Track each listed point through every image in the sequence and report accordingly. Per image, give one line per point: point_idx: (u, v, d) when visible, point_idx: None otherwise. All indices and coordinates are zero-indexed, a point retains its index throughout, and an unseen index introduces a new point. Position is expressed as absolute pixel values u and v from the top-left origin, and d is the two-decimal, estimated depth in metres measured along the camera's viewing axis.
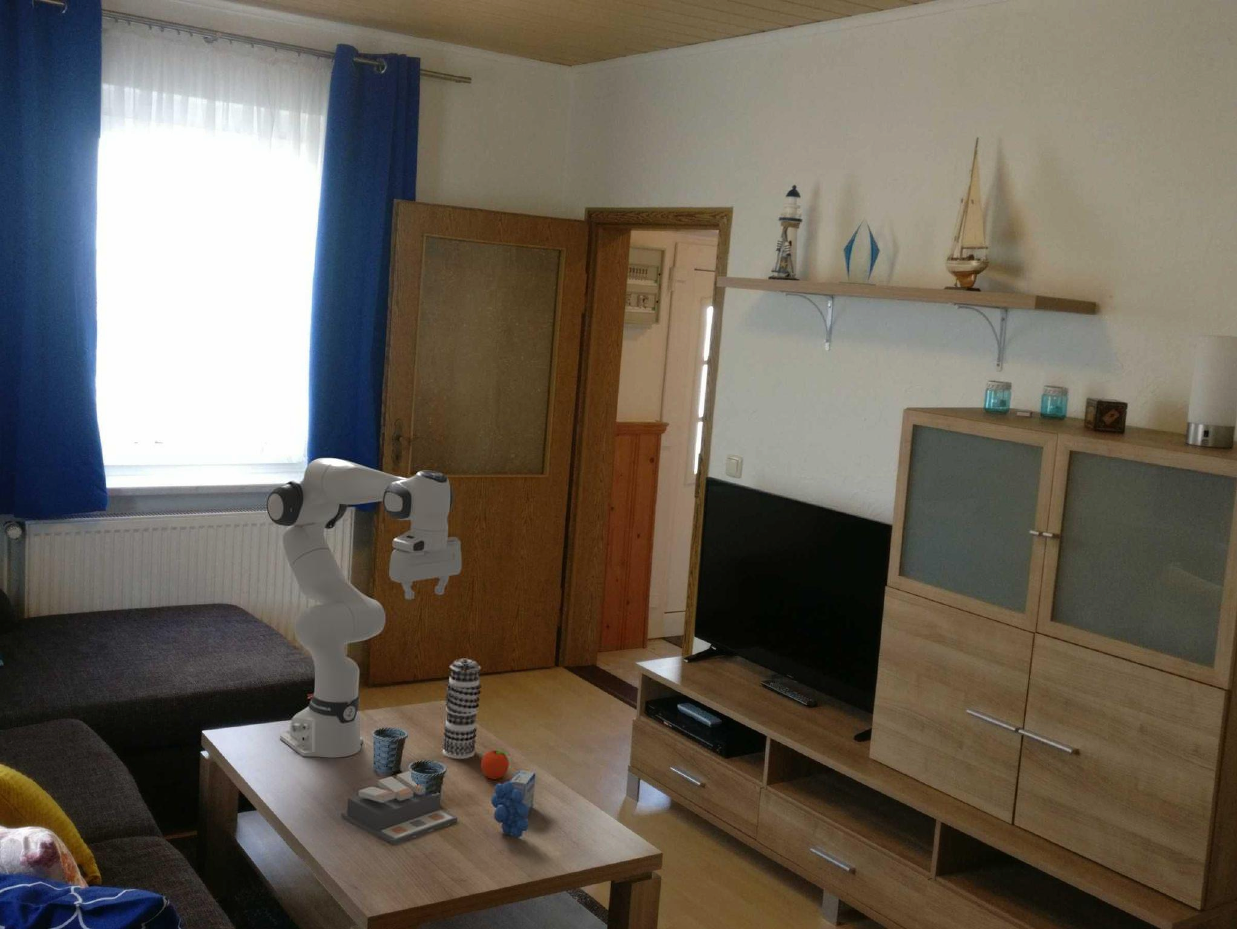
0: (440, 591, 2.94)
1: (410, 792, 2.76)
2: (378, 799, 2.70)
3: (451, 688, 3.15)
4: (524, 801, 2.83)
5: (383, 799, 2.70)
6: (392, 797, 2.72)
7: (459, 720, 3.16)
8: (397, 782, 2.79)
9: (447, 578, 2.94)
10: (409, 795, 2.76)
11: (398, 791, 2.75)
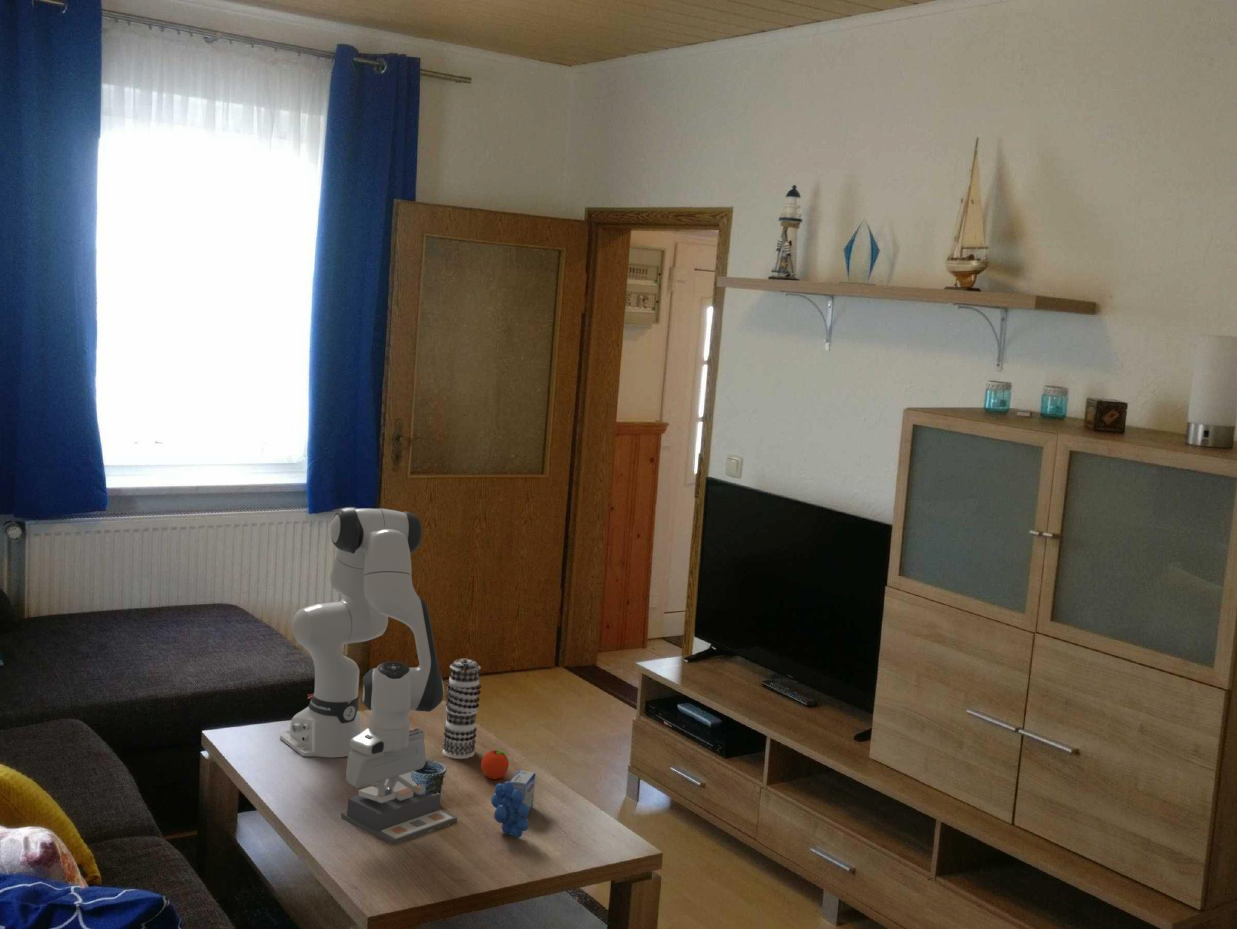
0: (389, 793, 2.71)
1: (410, 792, 2.76)
2: (378, 799, 2.70)
3: (451, 688, 3.15)
4: (524, 801, 2.83)
5: (383, 799, 2.70)
6: (392, 797, 2.72)
7: (459, 720, 3.16)
8: (397, 782, 2.79)
9: (396, 778, 2.72)
10: (409, 795, 2.76)
11: (398, 791, 2.75)
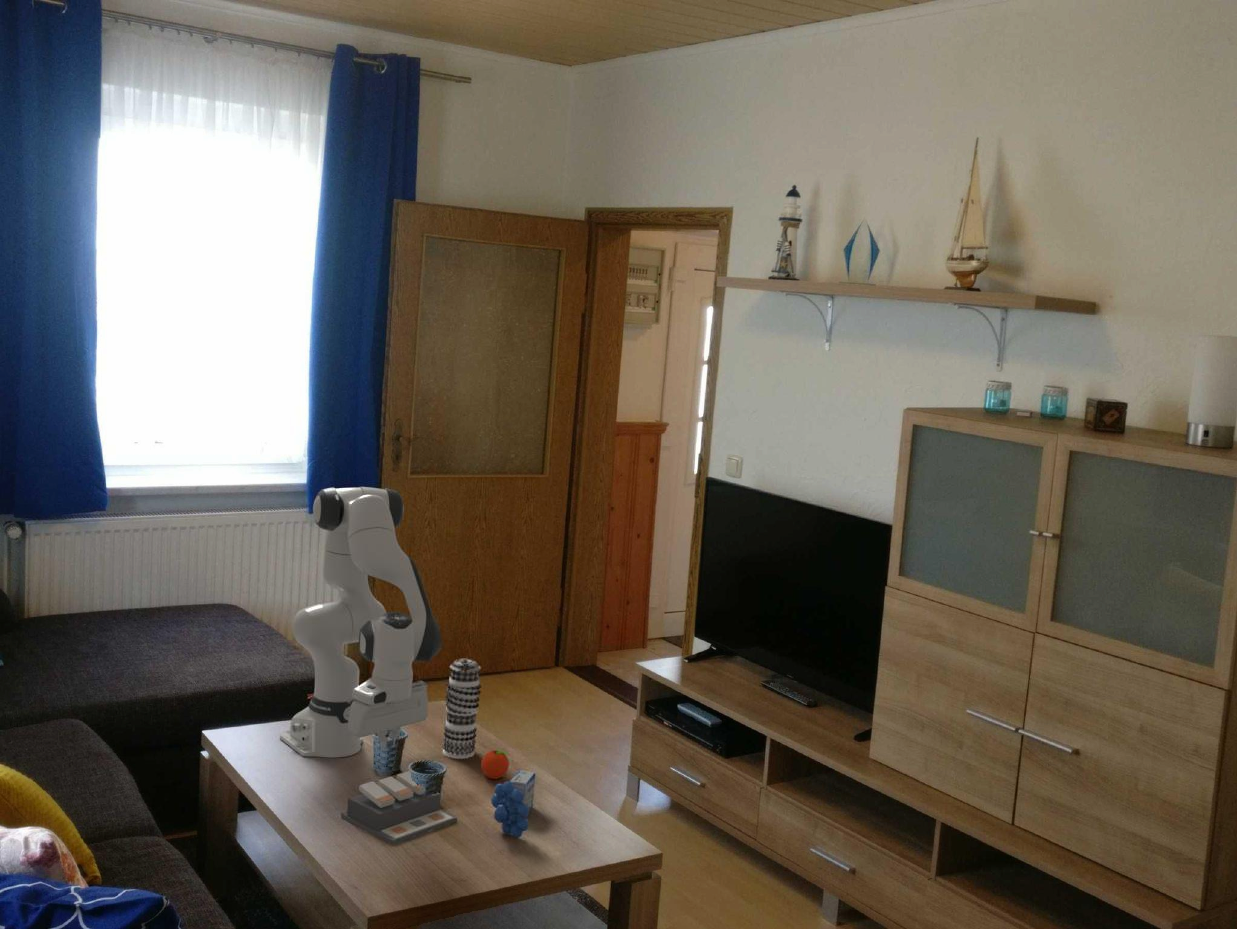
0: (391, 744, 2.70)
1: (410, 792, 2.76)
2: (377, 803, 2.70)
3: (451, 688, 3.15)
4: (524, 801, 2.83)
5: (382, 805, 2.70)
6: (391, 803, 2.72)
7: (459, 720, 3.16)
8: (397, 782, 2.79)
9: (398, 729, 2.71)
10: (409, 795, 2.76)
11: (398, 791, 2.75)
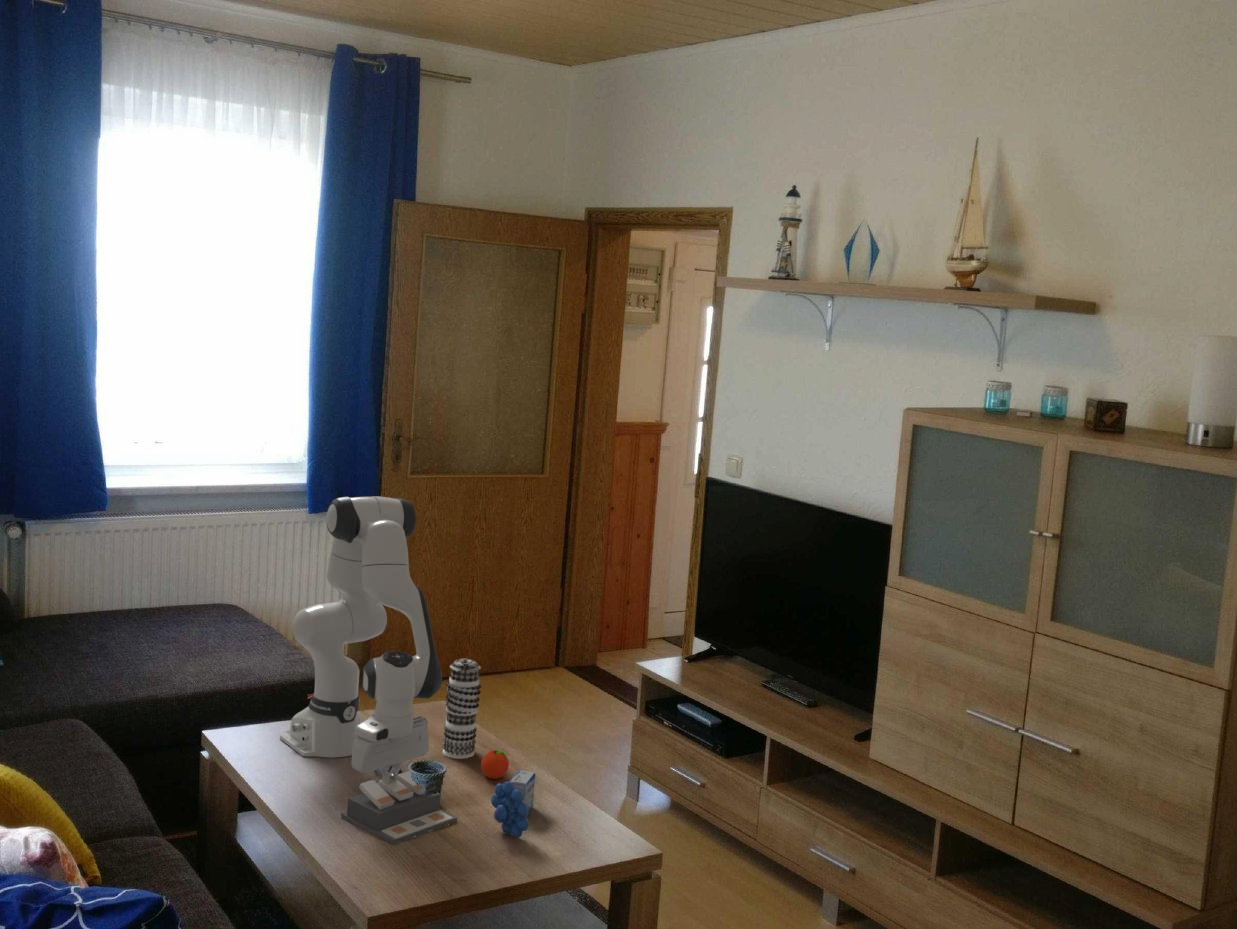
0: (393, 778, 2.79)
1: (410, 792, 2.76)
2: (377, 804, 2.70)
3: (451, 688, 3.15)
4: (524, 801, 2.83)
5: (382, 806, 2.70)
6: (391, 804, 2.72)
7: (459, 720, 3.16)
8: (397, 782, 2.79)
9: (400, 764, 2.79)
10: (409, 795, 2.76)
11: (398, 791, 2.75)
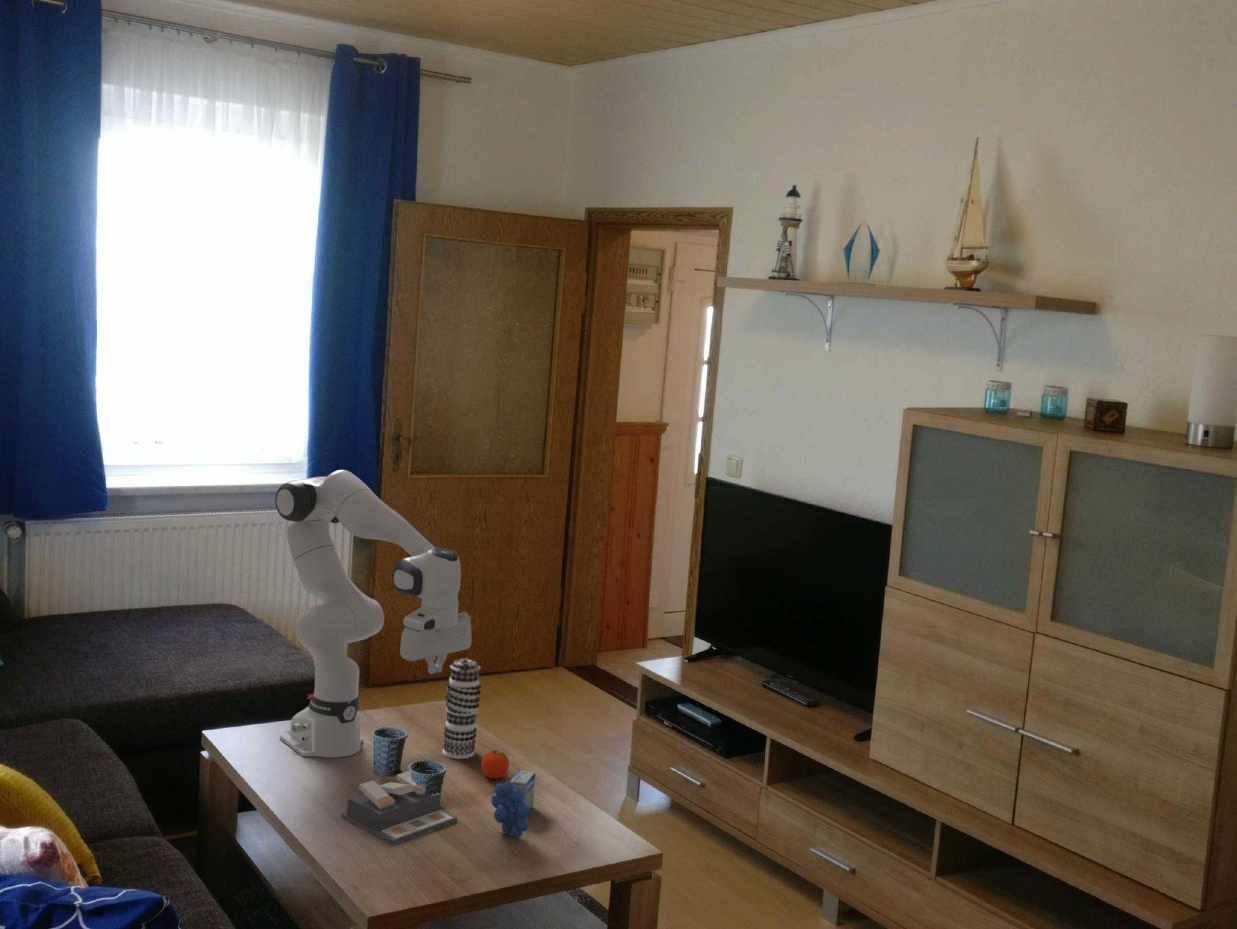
0: (438, 669, 2.93)
1: (410, 786, 2.76)
2: (377, 804, 2.70)
3: (451, 688, 3.15)
4: (524, 801, 2.83)
5: (382, 806, 2.70)
6: (391, 804, 2.72)
7: (459, 720, 3.16)
8: (396, 783, 2.79)
9: (445, 656, 2.93)
10: (409, 789, 2.75)
11: (397, 787, 2.75)
